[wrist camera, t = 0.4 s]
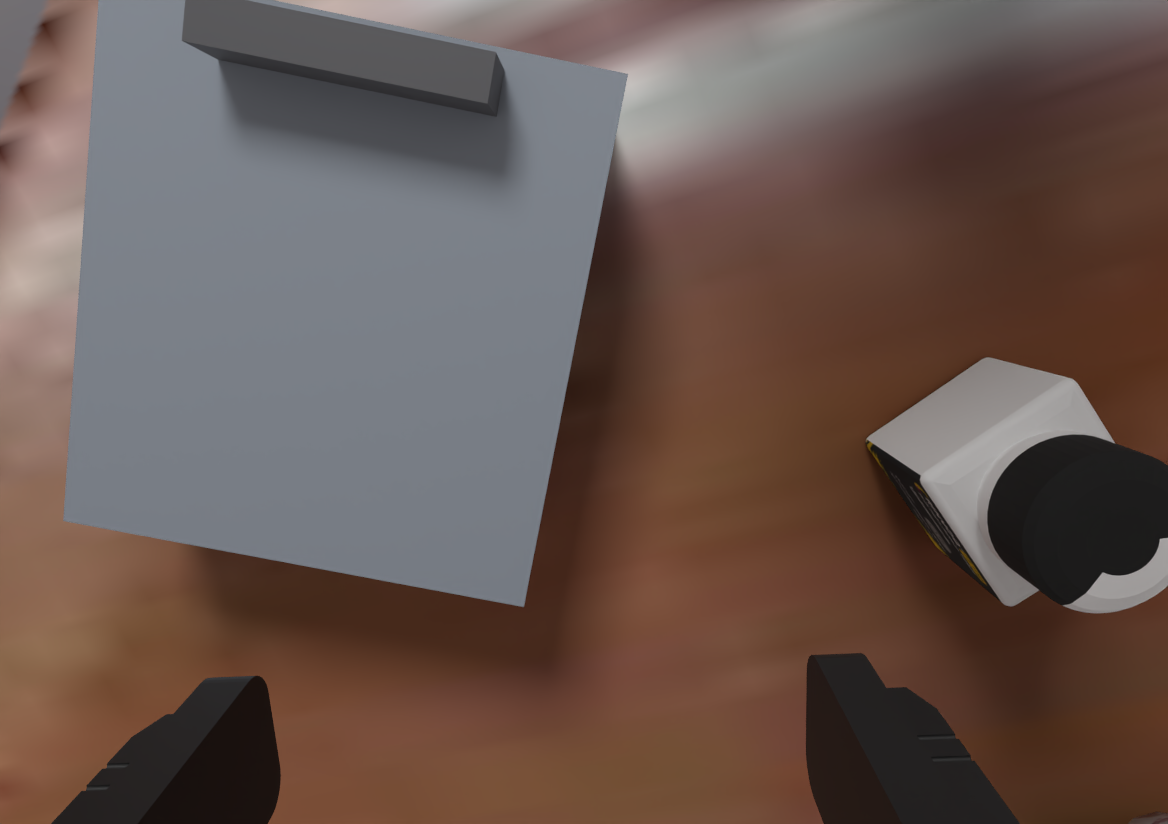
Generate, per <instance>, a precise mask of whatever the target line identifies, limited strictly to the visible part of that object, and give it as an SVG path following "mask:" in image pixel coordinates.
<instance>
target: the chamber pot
mask: <svg viewBox="0 0 1168 824" xmlns="http://www.w3.org/2000/svg"><path fill="white" fill-rule="evenodd" d="M1128 824H1168V813H1163V812H1154V813H1150V814H1147V815H1143V816H1139V817H1136V818H1133V819H1132V820H1131V821H1130V822H1129V823H1128Z"/></svg>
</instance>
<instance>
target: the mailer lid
mask: <svg viewBox="0 0 1168 824" xmlns="http://www.w3.org/2000/svg"><path fill="white" fill-rule="evenodd" d="M627 76H628V74H625V73H620V72H615V71H611V70H606V69H601V68H596V67H591V66H587V65H582V64H577V63H572V62H567V61H563V60H558V59H553V58H548V57H543V56H539V55H534V54H529V53H524V52H519V51H515V50H510V49H505V48H500V47H495V46H491V45H486V44H481V43H476V42H471V41H467V40H462V39H457V38H452V37H447V36H443V35H438V34H433V33H428V32H423V31H419V30H414V29H409V28H404V27H399V26H395V25H390V24H385V23H380V22H375V21H370V20H366V19H361V18H356V17H351V16H346V15H342V14H337V13H332V12H327V11H322V10H318V9H313V8H308V7H303V6H298V5H294V4H289V3H284V2H279V1H274V0H99V3H98V18H97V32H96V47H95V62H94V77H93V92H92V106H91V121H90V136H89V151H88V165H87V180H86V195H85V210H84V225H83V239H82V254H81V269H80V284H79V298H78V313H77V328H76V343H75V358H74V372H73V387H72V402H71V417H70V431H69V446H68V461H67V476H66V491H65V505H64V520H63V521H67V522H72V523H77V524H83V525H88V526H93V527H99V528H104V529H109V530H115V531H120V532H125V533H131V534H136V535H142V536H147V537H152V538H158V539H163V540H168V541H174V542H179V543H184V544H190V545H195V546H200V547H206V548H211V549H216V550H222V551H227V552H232V553H238V554H243V555H248V556H254V557H259V558H264V559H270V560H275V561H280V562H286V563H291V564H296V565H302V566H307V567H312V568H318V569H323V570H329V571H334V572H339V573H345V574H350V575H355V576H361V577H366V578H371V579H377V580H382V581H387V582H393V583H398V584H403V585H409V586H414V587H419V588H425V589H430V590H435V591H441V592H446V593H451V594H457V595H462V596H467V597H473V598H478V599H483V600H489V601H494V602H500V603H505V604H510V605H516V606H521V607H524V603H525V598H526V593H527V588H528V583H529V578H530V573H531V567H532V562H533V557H534V552H535V547H536V542H537V537H538V532H539V527H540V521H541V516H542V511H543V506H544V501H545V496H546V491H547V486H548V480H549V475H550V470H551V465H552V460H553V455H554V450H555V445H556V439H557V434H558V429H559V424H560V419H561V414H562V409H563V404H564V398H565V393H566V388H567V383H568V378H569V373H570V368H571V363H572V358H573V352H574V347H575V342H576V337H577V332H578V327H579V322H580V317H581V311H582V306H583V301H584V296H585V291H586V286H587V281H588V276H589V270H590V265H591V260H592V255H593V250H594V245H595V240H596V235H597V229H598V224H599V219H600V214H601V209H602V204H603V199H604V194H605V189H606V183H607V178H608V173H609V168H610V163H611V158H612V153H613V148H614V142H615V137H616V132H617V127H618V122H619V117H620V112H621V107H622V101H623V96H624V91H625V86H626V81H627Z"/></svg>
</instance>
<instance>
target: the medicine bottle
mask: <svg viewBox="0 0 1168 824" xmlns="http://www.w3.org/2000/svg"><path fill="white" fill-rule="evenodd" d="M866 445H867V447H868V449H869V450H870V452H871V453H872V455H873V456H874V457H875V459H876V460H877V462H878V463H879V465H880V466H881V468H882V469H883V471H884V472H885V473H886V475H887V476H888V478H889V479H890V481H891V482H892V484H893V485H894V487H895V488H896V489H897V491H898V492H899V494H900V495H901V497H902V498H903V500H904V501H905V503H906V504H907V505H908V507H909V508H910V510H911V511H912V513H913V514H914V516H915V517H916V519H917V520H918V521H919V523H920V524H921V526H922V527H923V529H924V530H925V532H926V533H927V535H928V536H929V537H930V539H931V540H932V542H933V543H934V545H935V546H936V547H937V548H938V549H939V550H940V551H942V552H943V553H944V554H945V555H946V556H947V557H949V558H950V559H951V560H952V561H953V562H955V563H956V564H957V565H958V566H959V567H960V568H962V569H963V570H964V571H965V572H966V573H968V574H969V575H970V576H971V577H972V578H973V579H975V580H976V581H977V582H978V583H979V584H980V585H982V586H983V587H984V588H985V589H986V590H988V591H989V592H990V593H991V594H992V595H993V596H995V597H996V598H997V599H998V600H999V601H1001V602H1002V603H1003V604H1004V605H1006V606H1011V607H1012V606H1015V605H1017V604H1018V603H1020V602H1021V601H1023V600H1025V599H1026V598H1028V597H1029V596H1031V595H1033V594H1034V593H1036V592H1037V591H1039V590H1040V591H1041V592H1042V593H1044V594H1045V595H1046V596H1048V597H1049V598H1050V599H1052V600H1053V601H1055V602H1057V603H1059V604H1060V605H1062V606H1065V607H1067V608H1070V609H1072V610H1076V611H1081V612H1087V613H1110V612H1116V611H1121V610H1124V609H1127V608H1131V607H1133V606H1135V605H1138V604H1140V603H1142V602H1145V601H1146V600H1148V599H1150V598H1152V597H1153V596H1155V595H1157V594H1158V593H1159V592H1161V591H1162V590H1163V589H1165V588H1166V587H1167V586H1168V466H1167V465H1166V464H1164V463H1163V462H1162V461H1160V460H1158V459H1155V458H1153V457H1151V456H1149V455H1146V454H1143V453H1140V452H1138V451H1135V450H1132V449H1129V448H1126V447H1124V446H1121V445H1118V444H1115V442H1114V441H1113V439H1112V438H1111V436H1110V434H1109V433H1108V431H1107V430H1106V428H1105V426H1104V425H1103V423H1102V422H1101V420H1100V418H1099V417H1098V415H1097V414H1096V412H1095V410H1094V409H1093V407H1092V406H1091V404H1090V402H1089V401H1088V399H1087V398H1086V396H1085V394H1084V393H1083V391H1082V390H1081V388H1080V386H1079V385H1078V383H1077V382H1075V381H1074V380H1073V379H1071V378H1067V377H1064V376H1060V375H1056V374H1052V373H1048V372H1044V371H1040V370H1036V369H1033V368H1029V367H1025V366H1021V365H1017V364H1013V363H1009V362H1005V361H1002V360H998V359H994V358H989V357H987V358H984V359H981V360H980V361H979V362H977V363H976V364H974V365H973V366H971V367H970V368H968V369H967V370H965V371H964V372H962V373H961V374H959V375H958V376H956V377H955V378H954V379H952V380H951V381H949V382H948V383H946V384H945V385H943V386H942V387H940V388H939V389H937V390H936V391H934V392H933V393H931V394H930V395H928V396H927V397H926V398H924V399H923V400H921V401H920V402H918V403H917V404H915V405H914V406H912V407H911V408H909V409H908V410H906V411H905V412H903V413H902V414H901V415H899V416H898V417H896V418H895V419H893V420H892V421H890V422H889V423H887V424H886V425H884V426H883V427H881V428H880V429H878V430H877V431H876V432H874V433H873V434H871V435H870V436H868V437H867V439H866Z"/></svg>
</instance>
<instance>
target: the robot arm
mask: <svg viewBox="0 0 1168 824" xmlns="http://www.w3.org/2000/svg"><path fill="white" fill-rule="evenodd" d="M806 759H807V768H808V775H809V780H810V785H811V789H812V793H813V796H814V799H815V802H816V804H817V807H818V810H819V812H820V815H821V817H822V820H823V822H824V824H1020V823H1019V822H1018V821H1017V819H1016V818H1015V816H1014V815H1013V814H1012V812H1011V811H1010V809H1009V808H1008V807H1007V805H1006V804H1005V803H1004V801H1003V800H1002V798H1001V797H1000V796H999V794H998V793H997V791H996V790H995V789H994V787H993V786H992V785H991V783H990V782H989V780H988V779H987V778H986V776H985V775H984V773H983V772H982V771H981V769H980V768H979V767H978V765H977V764H976V762H975V761H971V757H970V754H969V753H968V751H967V750H966V749H965V747H964V746H963V744H962V743H961V742H960V740H959V739H956V738H955V733H954V732H953V731H952V729H951V728H950V726H949V725H948V724H947V722H946V721H945V720H944V718H943V717H942V715H941V714H940V713H939V711H938V710H937V708H935V707H934V706H932V705H931V704H929V703H928V702H926V701H925V700H924V699H922V698H921V697H919V696H918V695H916V694H915V693H913V692H912V691H910V690H909V689H908V688H906V687H903V688H886V687H885V685H884V684H883V682H882V681H881V679H880V678H879V676H878V674H877V673H876V671H875V670H874V668H873V667H872V665H871V664H870V662H869V660H868V659H867V657H866V656H865V655H864V654H862V653H853V654H828V655H811V656H810V657H809V659H808V663H807V702H806ZM280 777H281V775H280V763H279V757H278V750H277V744H276V738H275V731H274V725H273V718H272V712H271V706H270V699H269V693H268V688H267V685H266V683H265V681H264V680H263V678H262V677H260V676H243V677H218V678H207V679H205V680H204V681H203V682H202V683H201V684H200V685H199V686H198V687H197V688H196V689H195V690H194V691H193V693H192V694H191V695H190V696H189V697H188V698H187V699H186V700H185V702H184V703H183V704H182V705H181V706H180V707H179V708H178V709H177V711H176V712H175V713H174V714H167V715H165V716H163V717H162V718H160V719H159V720H157V721H156V722H154V723H153V724H151V725H150V726H148V727H147V728H145V729H144V730H142V731H141V732H139V733H137V734H136V735H134V736H133V737H131V739H130V740H129V741H128V742H127V743H126V744H125V745H124V746H123V747H122V748H121V749H120V750H119V751H118V753H117V754H116V755H115V756H114V757H113V758H112V759H111V760H110V761H109V762H108V763H107V768H106V769H102V770H101V771H100V772H99V773H98V774H97V775H96V776H95V777H94V778H93V779H92V780H91V782H90V783H89V784H88V785H87V789H86V791H81V792H80V793H79V794H78V796H77V797H76V798H75V799H74V800H73V801H72V802H71V803H70V804H69V805H68V806H67V807H66V808H65V810H64V811H63V812H62V813H61V814H60V815H59V816H58V817H57V818H56V819H55V820H54V821H53V822H52V823H51V824H268V822H269V820H270V818H271V816H272V814H273V812H274V810H275V807H276V804H277V800H278V796H279V790H280Z"/></svg>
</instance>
